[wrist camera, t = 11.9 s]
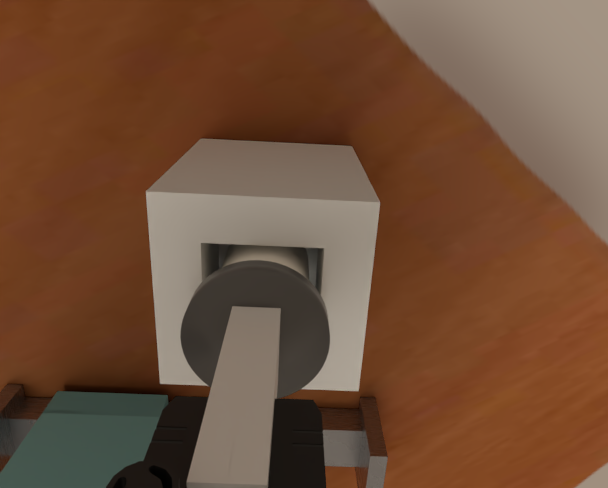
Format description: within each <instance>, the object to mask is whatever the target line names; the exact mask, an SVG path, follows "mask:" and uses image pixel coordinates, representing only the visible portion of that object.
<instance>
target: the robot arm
mask: <svg viewBox="0 0 608 488" xmlns="http://www.w3.org/2000/svg"><path fill="white" fill-rule="evenodd" d="M280 315H281V308H264V307H240V306H232V310H231V313H230V317H229V321H228V325H227V329H226V333H225V336H224V340H223V344H222V348H221V352H220V356H219V359H218V363H217V367H216V371H215V375H214V379H213V382H212V386H211V390H210V394H209V397H185V396H176V397H175V398H174V399H173V400H172V401H171V402H170V403H169V404H168V405H167V406H166V407H165V408H164V409H163V410H162V413H161V415H160V418H159V421H158V423H157V426H156V429H155V431H154V434H153V437H152V439H151V443H150V444H149V447H148V450H147V452H146V455H145V458H144V460H143V461H138V462H136V463H134V464H131V465H129V466H126V467H124V468H123V469H122V470H121V471H119V472H118V473H117V474H115V475H114V476H113V478H112V479H111V480H110V482H109V483H108V485H107V486H106V488H326V477H325V459H324V441H323V424H322V414H321V412H320V410H319V409H318V407H317V405H316V404H315V402H314V401H313V400H301V399H277V388H278V368H279V341H280Z"/></svg>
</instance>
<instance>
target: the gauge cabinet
mask: <svg viewBox="0 0 608 488" xmlns="http://www.w3.org/2000/svg"><path fill="white" fill-rule="evenodd" d="M146 201H147V214H148V228H149V241H150V255H151V268H152V282H153V295H154V309H155V323H156V336H157V350H158V363H159V377H160V384H177V385H204V386H208V385H207V384H206V383H204V382H203V381H202V380H201V379H200V378H199V377H198V376H197V375H196V374H195V373H194V371H193V370H192V369H191V367H190V366H189V364H188V362H187V360H186V358H185V356H184V353H183V350H182V346H181V339H180V334H181V325H182V320H183V317H184V315H185V312H186V310H187V307H188V305H189V303H190V300H191V298H192V296H193V294H194V292H195V290H196V289H197V288H198V286H199V285H200V284H201V283H202V282H203V281H204V280H205V279H206V278H207V277H208V276H209V275H211V274H212V273H213V272H215V271H217V270H218V269H220V268H221V267H222V265H223V262H224V259H225V256H226V253H227V250H228V248H229V246H230V244H237V245H260V246H282V247H305V249H306V251H307V255H308V260H309V281H310V282H311V283H312V284H313V285H314V286H315V288H316V289H317V290H318V292H319V293H320V295H321V296H322V299H323V301H324V303H325V306H326V309H327V314H328V321H329V331H330V347H329V352H328V356H327V359H326V361H325V363H324V365H323V367H322V369H321V370H320V372H319V373H318V374H317V375H316V377H315V378H314V379H313V380H312V381H311V382H310V383H308V384H307V385H306V386H305V387H303V388H301V389H312V390H339V391H359V384H360V375H361V366H362V357H363V349H364V340H365V331H366V323H367V314H368V305H369V296H370V288H371V279H372V270H373V261H374V253H375V244H376V235H377V227H378V218H379V209H380V201H379V199H378V197H377V195H376V193H375V191H374V189H373V187H372V185H371V183H370V181H369V179H368V177H367V175H366V173H365V171H364V169H363V167H362V165H361V163H360V161H359V159H358V157H357V155H356V153H355V151H354V149H353V147H352V146H343V145H322V144H302V143H282V142H262V141H242V140H222V139H202V138H201V139H200V140H199V141H198V142H197V143H196V144H195V145H194V146H193V147H192V148H191V149H190V150H189V151H187V152H186V153H185V154H184V155H183V156H182V157H181V158H180V159H179V160H178V161H177V162H176V163H175V164H174V165H173V166H172V167H171V168H170V169H169V170H168V171H167V172H166V173H165V174H164V175H162V176H161V177H160V178H159V179H158V180H157V181H156V182H155V183H154V184H153V185H152V186H151V187H150V188H149V189H148V190H147V191H146Z"/></svg>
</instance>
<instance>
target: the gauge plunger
mask: <svg viewBox="0 0 608 488" xmlns="http://www.w3.org/2000/svg"><path fill="white" fill-rule="evenodd" d="M232 306H240V307H264V308H281V315H280V341H279V368H278V388H277V399H278V398H282V397H285V396H288V395H290V394H292V393H294V392H296V391H298V390H300V389H301V388H303V387H305V386H306V385H307V384H308V383H310V382H311V381H312V380H313V379H314V378H315V377H316V375H317V374H318V373H319V372H320V370H321V369H322V367H323V365H324V363H325V361H326V359H327V356H328V352H329V347H330V331H329V321H328V314H327V309H326V306H325V303H324V301H323V299H322V296H321V295H320V293H319V292H318V290H317V289H316V288H315V286H314V285H313V284H312V283H311V282H310V281H309V260H308V255H307V251H306V249H305V247H282V246H260V245H237V244H230V246H229V248H228V250H227V253H226V256H225V259H224V262H223V265H222V267H221V268H220V269H218V270H217V271H215V272H213V273H212V274H211V275H209V276H208V277H207V278H206V279H205V280H204V281H203V282H202V283H201V284H200V285H199V286H198V288H197V289H196V290H195V292H194V294H193V296H192V298H191V300H190V303H189V305H188V307H187V310H186V312H185V315H184V317H183V320H182V325H181V334H180V339H181V346H182V350H183V353H184V356H185V358H186V360H187V362H188V364H189V366H190V367H191V369H192V370H193V371H194V373H195V374H196V375H197V376H198V377H199V378H200V379H201V380H202V381H203V382H204V383H206V384H207V385H208V386H210V387H211V386H212V382H213V379H214V375H215V371H216V367H217V363H218V359H219V356H220V352H221V348H222V344H223V340H224V336H225V333H226V329H227V325H228V321H229V317H230V313H231V310H232Z"/></svg>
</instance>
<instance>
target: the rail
mask: <svg viewBox="0 0 608 488" xmlns="http://www.w3.org/2000/svg"><path fill="white" fill-rule="evenodd" d="M51 400H52V398H33V397H25V393H24V388H23V385H15V384H7V385H6V386H5V387H4V389H3V390H2V391H1V392H0V473H1V471H2V470H3V468H4V467H5V466H6V464H7V463H8V461H9V460H10V458H11V457H12V456H13V454H14V453H15V451H16V450H17V448H18V447H19V446H20V444H21V443H22V441H23V440H24V438H25V437H26V436H27V434H28V433H29V431H30V430H31V428H32V427H33V426H34V424H35V423H36V421H37V420H38V418H39V417H40V416H41V414H42V413H43V411H44V410H45V408H46V407H47V405H48V404H49V403H50V401H51ZM169 403H170V402H168V404H169ZM318 409H319V410H320V412H321V414H322V424H323V441H324V459H325V466H344V467H355V471H356V478H357V486H358V488H383V485H384V478H385V471H386V465H387V458H388V456H387V451H386V446H385V442H384V437H383V432H382V427H381V423H380V418H379V413H378V408H377V404H376V399H375V398H368V397H360V403H359V409H337V408H318Z"/></svg>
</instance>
